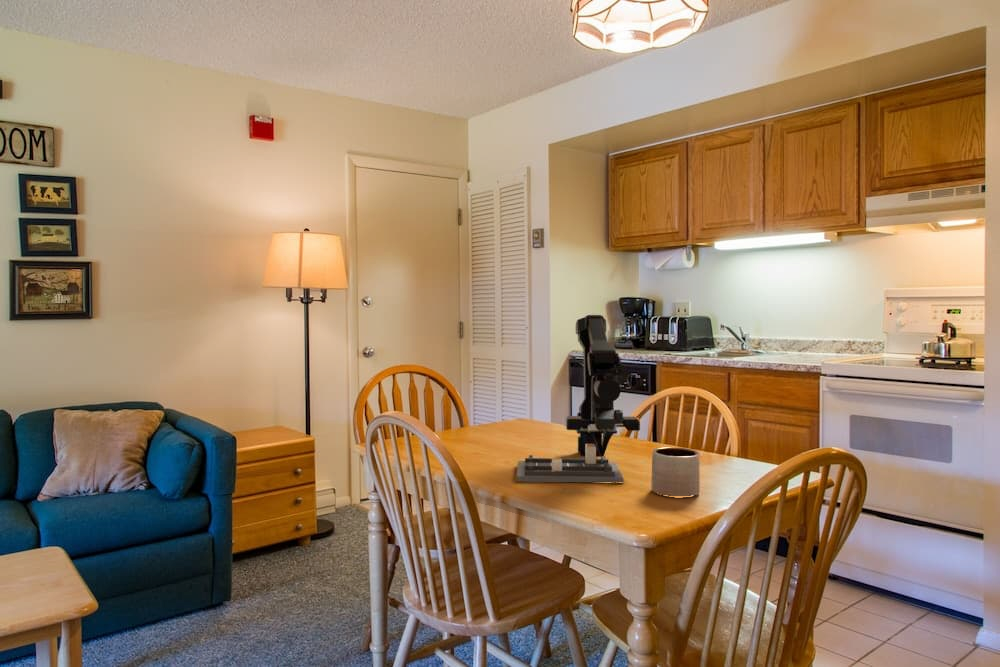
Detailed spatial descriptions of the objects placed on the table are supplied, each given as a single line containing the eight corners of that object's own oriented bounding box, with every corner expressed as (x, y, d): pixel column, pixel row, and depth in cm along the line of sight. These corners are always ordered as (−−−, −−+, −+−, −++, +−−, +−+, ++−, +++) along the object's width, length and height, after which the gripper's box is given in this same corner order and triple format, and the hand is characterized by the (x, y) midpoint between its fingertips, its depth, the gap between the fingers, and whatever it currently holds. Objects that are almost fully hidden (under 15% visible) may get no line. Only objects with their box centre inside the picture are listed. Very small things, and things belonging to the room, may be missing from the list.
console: (615, 467, 181) (615, 451, 181) (623, 483, 165) (623, 465, 165) (517, 466, 182) (517, 449, 182) (516, 482, 166) (516, 463, 166)
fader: (594, 462, 179) (594, 442, 179) (595, 465, 176) (595, 445, 175) (585, 462, 179) (585, 442, 179) (586, 465, 176) (586, 445, 175)
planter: (653, 498, 153) (653, 456, 153) (649, 485, 164) (650, 446, 163) (702, 500, 152) (703, 457, 151) (695, 487, 162) (696, 447, 162)
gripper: (568, 400, 169) (568, 463, 169) (644, 401, 168) (643, 463, 169) (565, 394, 180) (565, 453, 181) (636, 395, 179) (636, 453, 180)
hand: (601, 456), depth 177 cm, fingers closed
